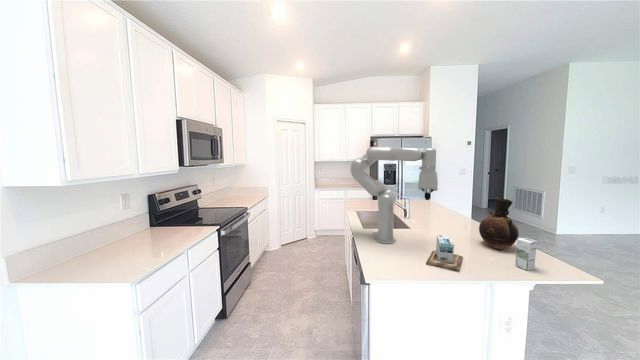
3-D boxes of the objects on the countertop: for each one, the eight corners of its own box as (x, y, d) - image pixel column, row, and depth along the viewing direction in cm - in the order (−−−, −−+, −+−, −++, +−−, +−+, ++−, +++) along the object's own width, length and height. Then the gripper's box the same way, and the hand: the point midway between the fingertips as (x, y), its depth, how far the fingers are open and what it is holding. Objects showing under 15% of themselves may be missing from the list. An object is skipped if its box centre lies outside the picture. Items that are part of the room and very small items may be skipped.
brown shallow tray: (426, 264, 128) (426, 260, 127) (432, 252, 142) (432, 248, 142) (459, 272, 119) (459, 267, 119) (462, 258, 134) (462, 254, 134)
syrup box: (535, 269, 121) (537, 240, 120) (527, 271, 119) (529, 242, 117) (522, 264, 127) (524, 236, 125) (514, 266, 124) (516, 238, 123)
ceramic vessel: (471, 241, 159) (473, 195, 156) (496, 239, 161) (499, 194, 157) (496, 254, 138) (500, 202, 135) (525, 253, 140) (530, 201, 136)
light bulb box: (453, 264, 125) (454, 244, 123) (438, 262, 127) (440, 243, 125) (448, 253, 135) (450, 235, 133) (435, 252, 137) (436, 234, 135)
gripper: (413, 169, 148) (412, 199, 150) (441, 170, 139) (439, 202, 141) (416, 168, 154) (416, 197, 156) (443, 169, 145) (442, 199, 147)
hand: (427, 199), depth 149 cm, fingers closed
